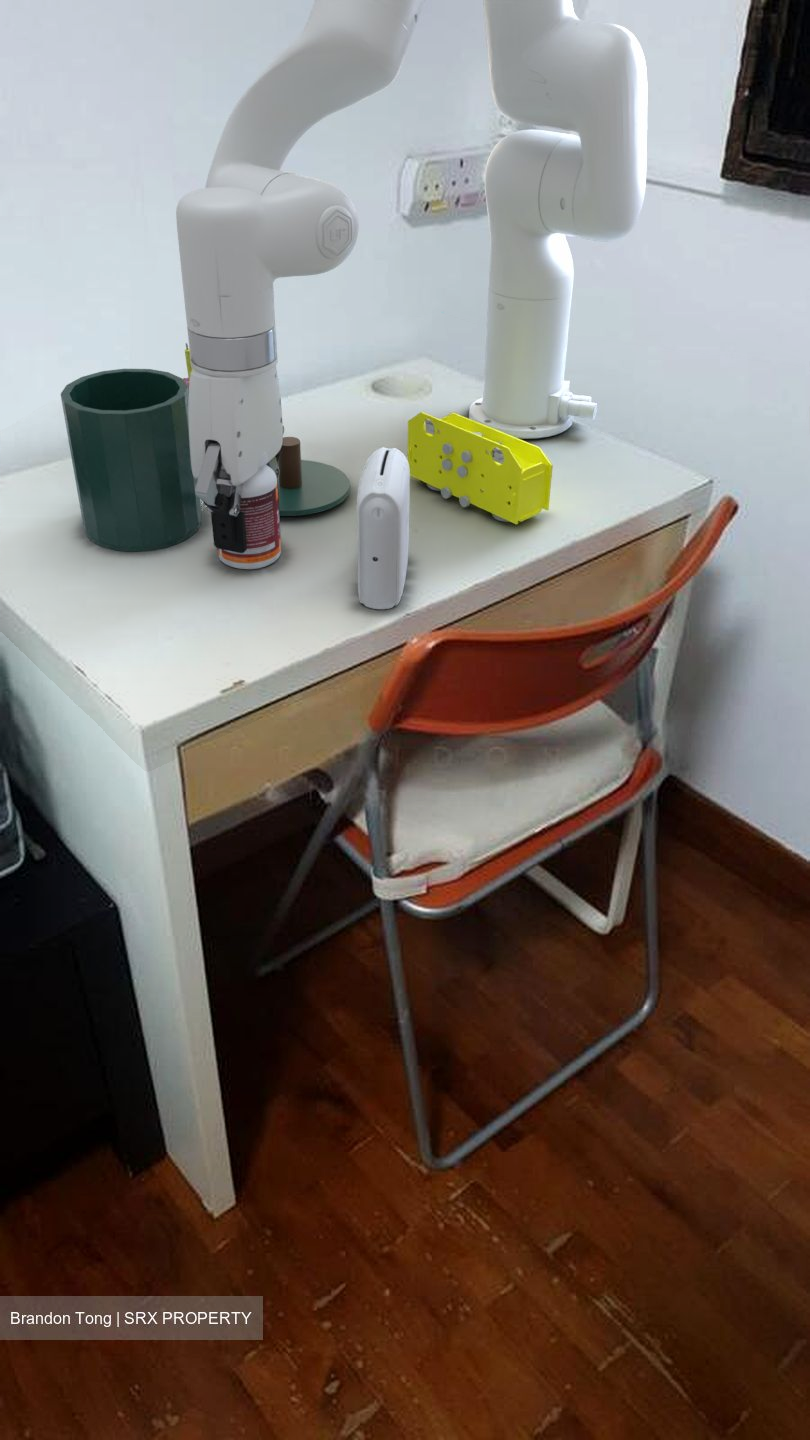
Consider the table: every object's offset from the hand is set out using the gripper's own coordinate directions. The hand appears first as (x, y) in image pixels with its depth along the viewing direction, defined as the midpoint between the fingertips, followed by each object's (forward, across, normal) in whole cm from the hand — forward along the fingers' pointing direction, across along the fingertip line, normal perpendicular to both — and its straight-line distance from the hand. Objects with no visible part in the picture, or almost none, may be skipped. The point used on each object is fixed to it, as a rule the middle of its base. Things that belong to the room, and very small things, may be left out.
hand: (247, 531), depth 109 cm
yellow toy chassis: (+3, -20, +16) cm, 26 cm away
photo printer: (+3, 0, +14) cm, 14 cm away
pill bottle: (+3, 0, 0) cm, 3 cm away
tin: (+3, -2, -13) cm, 13 cm away
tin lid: (+2, -14, -2) cm, 14 cm away
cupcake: (+3, -23, -18) cm, 29 cm away
